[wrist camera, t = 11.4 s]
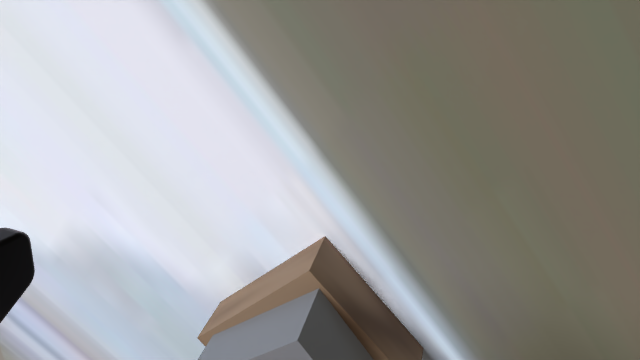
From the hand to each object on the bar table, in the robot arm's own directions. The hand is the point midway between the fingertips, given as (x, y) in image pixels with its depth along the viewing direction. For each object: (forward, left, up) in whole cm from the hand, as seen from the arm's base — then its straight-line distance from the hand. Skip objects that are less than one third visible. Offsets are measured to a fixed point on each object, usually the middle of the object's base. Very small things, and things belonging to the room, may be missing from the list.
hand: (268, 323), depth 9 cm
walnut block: (-7, +10, -13) cm, 18 cm away
